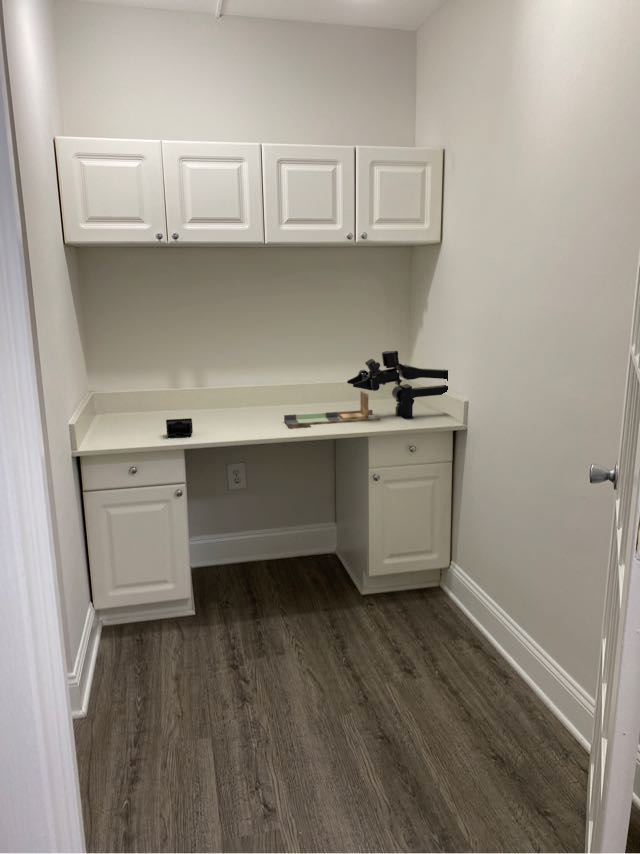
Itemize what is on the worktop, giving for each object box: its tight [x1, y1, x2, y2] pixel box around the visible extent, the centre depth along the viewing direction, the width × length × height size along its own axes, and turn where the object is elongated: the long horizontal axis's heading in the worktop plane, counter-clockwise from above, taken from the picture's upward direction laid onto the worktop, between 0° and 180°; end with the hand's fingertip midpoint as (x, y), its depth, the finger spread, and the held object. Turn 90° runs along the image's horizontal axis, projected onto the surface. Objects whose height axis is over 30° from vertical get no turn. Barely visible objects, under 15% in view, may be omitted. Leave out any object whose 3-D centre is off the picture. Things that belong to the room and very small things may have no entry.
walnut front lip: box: [288, 417, 381, 429], centre depth 276 cm, size 39×1×2 cm, turn 102°
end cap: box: [165, 417, 194, 439], centre depth 262 cm, size 10×7×7 cm
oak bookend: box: [339, 390, 369, 420], centre depth 282 cm, size 11×7×11 cm, turn 102°
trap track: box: [283, 409, 377, 429], centre depth 282 cm, size 39×11×3 cm, turn 102°
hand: (350, 383), depth 280 cm, fingers open, 9 cm apart
